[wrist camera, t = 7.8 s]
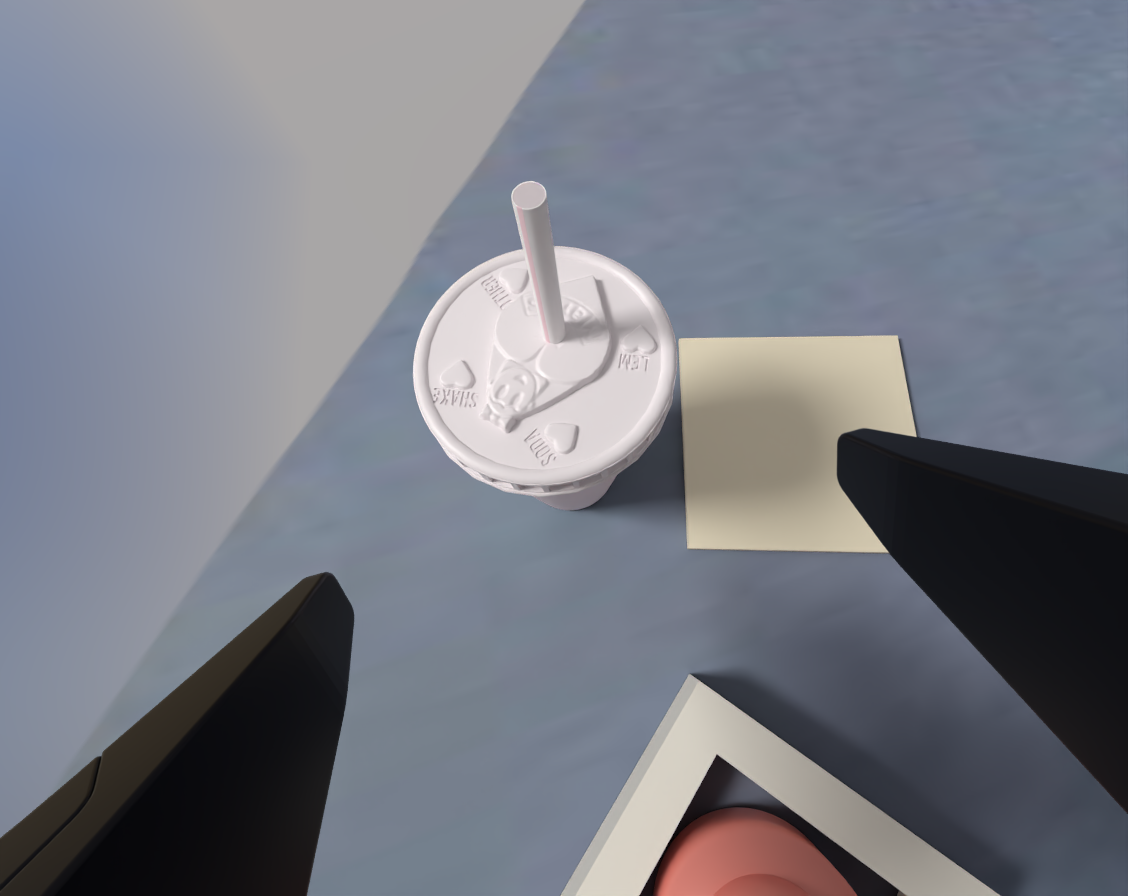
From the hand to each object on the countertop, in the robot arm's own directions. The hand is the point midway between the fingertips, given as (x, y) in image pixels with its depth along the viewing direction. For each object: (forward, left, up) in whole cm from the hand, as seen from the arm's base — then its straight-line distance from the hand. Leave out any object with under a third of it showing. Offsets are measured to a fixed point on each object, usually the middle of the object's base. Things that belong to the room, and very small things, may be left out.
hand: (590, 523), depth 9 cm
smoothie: (+3, -3, -12) cm, 13 cm away
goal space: (-4, -9, -11) cm, 15 cm away
